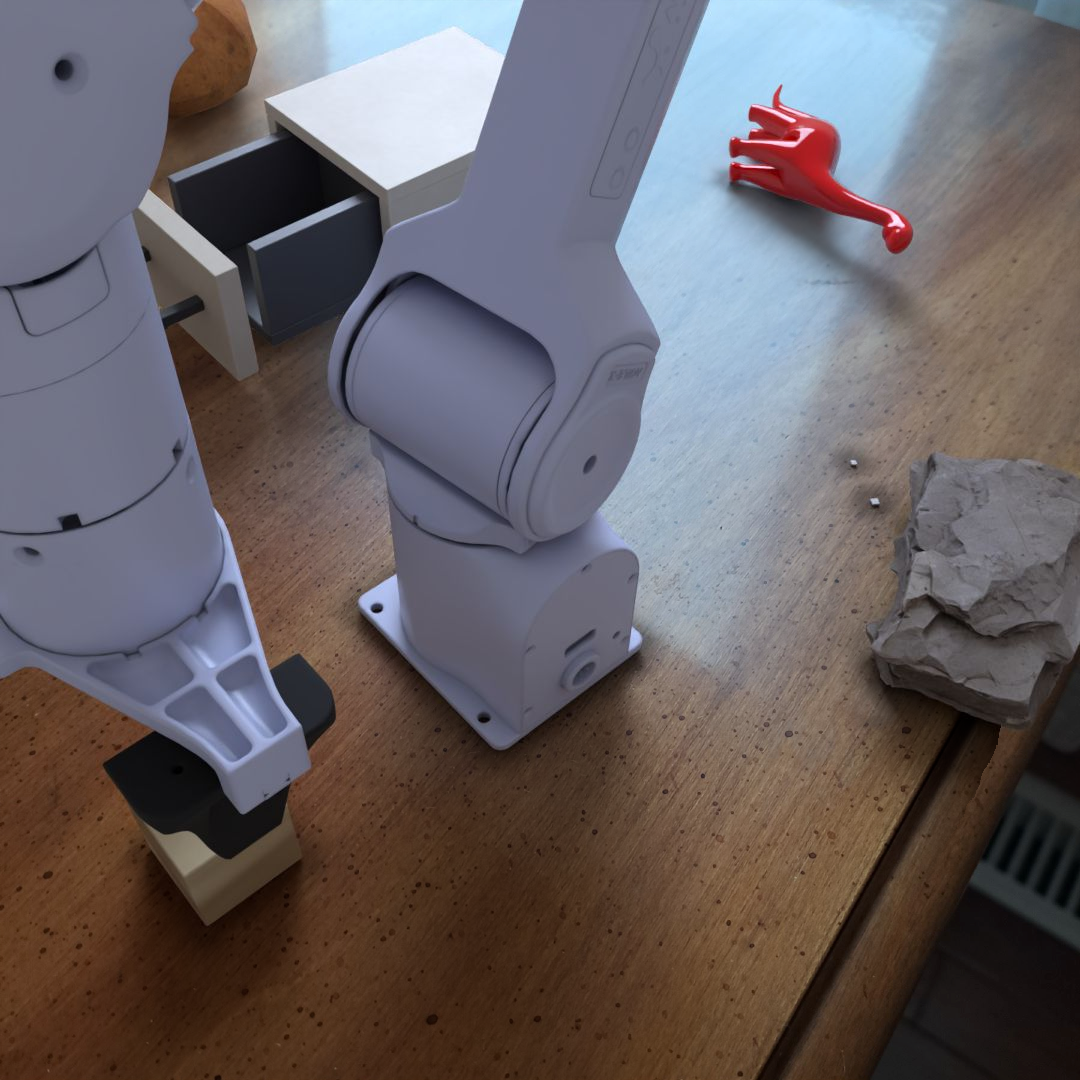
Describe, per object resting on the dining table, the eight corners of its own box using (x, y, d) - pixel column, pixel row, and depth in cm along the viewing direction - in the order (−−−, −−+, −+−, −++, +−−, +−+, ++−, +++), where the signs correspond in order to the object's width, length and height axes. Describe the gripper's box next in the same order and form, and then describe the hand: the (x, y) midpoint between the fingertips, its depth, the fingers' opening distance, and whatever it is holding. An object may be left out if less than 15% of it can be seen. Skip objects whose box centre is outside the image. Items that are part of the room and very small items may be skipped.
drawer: (164, 419, 56) (132, 314, 51) (69, 321, 61) (32, 216, 56) (425, 287, 63) (419, 183, 58) (323, 208, 68) (309, 105, 63)
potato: (291, 68, 79) (275, -47, 74) (223, 158, 72) (199, 38, 67) (163, 49, 81) (137, -66, 75) (83, 135, 74) (48, 16, 68)
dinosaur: (777, 112, 78) (971, 140, 73) (688, 242, 69) (901, 282, 65) (779, 54, 75) (981, 79, 70) (687, 182, 66) (909, 220, 62)
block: (303, 857, 43) (288, 804, 40) (207, 927, 41) (183, 878, 38) (243, 782, 45) (224, 727, 42) (148, 847, 43) (121, 793, 40)
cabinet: (398, 324, 63) (387, 190, 56) (285, 232, 68) (263, 99, 61) (575, 233, 68) (582, 102, 62) (458, 154, 73) (454, 25, 67)
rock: (1080, 763, 46) (1120, 712, 43) (848, 691, 48) (870, 637, 45) (1105, 513, 54) (1140, 454, 51) (904, 459, 56) (927, 400, 53)
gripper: (-233, 354, 29) (-39, 671, 39) (45, 752, 22) (192, 1009, 32) (39, 243, 32) (152, 563, 42) (358, 561, 25) (400, 851, 35)
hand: (183, 748), depth 38 cm, fingers open, 7 cm apart
